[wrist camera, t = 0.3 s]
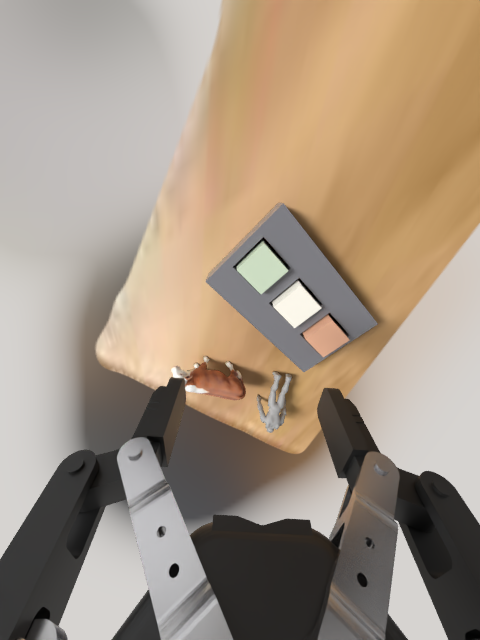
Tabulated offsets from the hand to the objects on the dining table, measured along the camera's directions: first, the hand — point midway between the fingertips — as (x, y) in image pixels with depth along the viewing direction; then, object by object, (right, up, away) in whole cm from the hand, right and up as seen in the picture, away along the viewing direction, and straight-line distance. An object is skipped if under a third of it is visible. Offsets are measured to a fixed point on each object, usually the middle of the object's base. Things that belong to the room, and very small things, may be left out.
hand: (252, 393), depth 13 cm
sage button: (+2, +12, +19) cm, 23 cm away
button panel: (+7, +9, +24) cm, 26 cm away
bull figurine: (-6, -4, +31) cm, 32 cm away
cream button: (+7, +7, +22) cm, 24 cm away
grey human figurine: (+6, -10, +34) cm, 36 cm away
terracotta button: (+13, +3, +24) cm, 27 cm away
